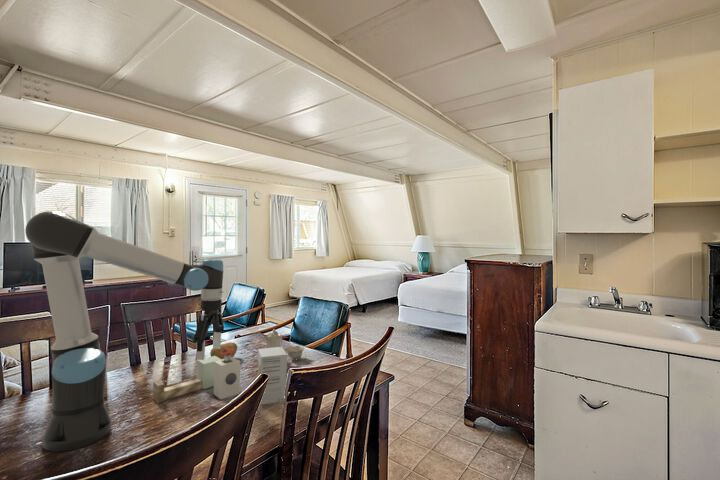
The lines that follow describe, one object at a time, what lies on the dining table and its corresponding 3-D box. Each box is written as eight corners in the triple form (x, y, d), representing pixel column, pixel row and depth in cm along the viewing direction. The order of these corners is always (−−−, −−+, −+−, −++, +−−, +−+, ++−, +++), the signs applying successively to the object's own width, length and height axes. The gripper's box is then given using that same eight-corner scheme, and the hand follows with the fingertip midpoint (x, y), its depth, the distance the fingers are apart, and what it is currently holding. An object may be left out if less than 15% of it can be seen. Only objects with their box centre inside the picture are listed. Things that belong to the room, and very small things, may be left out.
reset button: (224, 364, 123) (224, 352, 123) (218, 361, 126) (218, 349, 126) (235, 361, 126) (236, 349, 126) (230, 358, 129) (230, 347, 129)
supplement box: (256, 393, 126) (257, 348, 126) (281, 390, 130) (282, 345, 130) (259, 405, 117) (260, 356, 117) (286, 401, 121) (287, 353, 121)
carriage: (203, 389, 128) (203, 364, 128) (196, 384, 132) (197, 359, 132) (221, 383, 134) (221, 359, 133) (214, 379, 138) (215, 355, 138)
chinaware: (281, 382, 140) (286, 342, 140) (245, 374, 144) (249, 335, 143) (306, 359, 168) (310, 326, 168) (274, 353, 171) (278, 320, 171)
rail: (157, 403, 118) (158, 385, 117) (153, 398, 121) (153, 381, 121) (229, 381, 137) (230, 366, 137) (224, 377, 140) (224, 363, 140)
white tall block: (221, 399, 121) (222, 366, 121) (213, 394, 125) (214, 361, 125) (240, 393, 126) (240, 361, 126) (231, 388, 130) (232, 356, 130)
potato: (243, 357, 164) (243, 341, 164) (221, 367, 151) (221, 349, 151) (227, 354, 168) (227, 338, 168) (204, 364, 155) (204, 346, 155)
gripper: (205, 305, 121) (202, 365, 120) (233, 294, 145) (231, 344, 145) (184, 304, 121) (181, 364, 120) (216, 294, 146) (214, 343, 145)
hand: (208, 353), depth 133 cm, fingers open, 13 cm apart
